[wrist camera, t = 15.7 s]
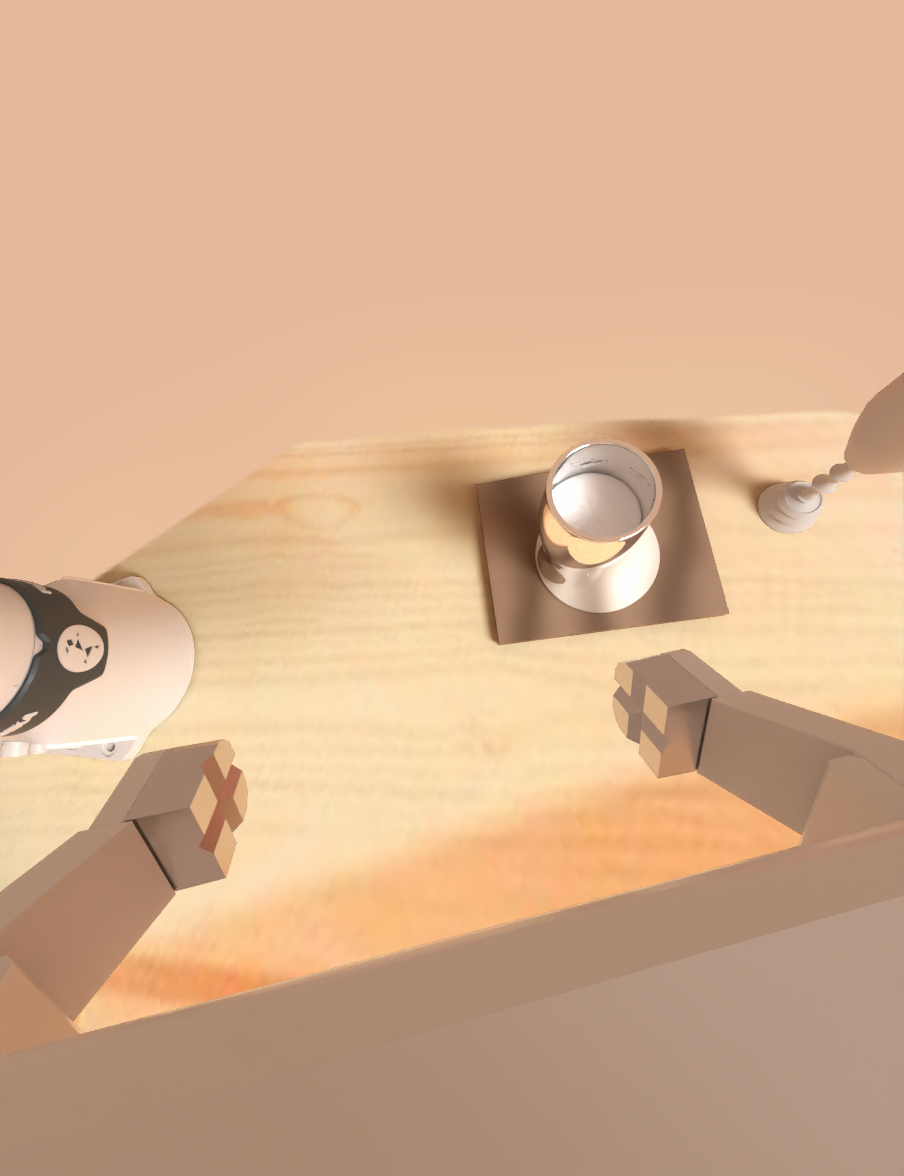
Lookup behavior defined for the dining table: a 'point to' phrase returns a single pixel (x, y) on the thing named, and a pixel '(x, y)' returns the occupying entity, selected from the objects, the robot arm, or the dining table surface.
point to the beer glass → (594, 510)
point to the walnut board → (624, 589)
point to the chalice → (876, 445)
